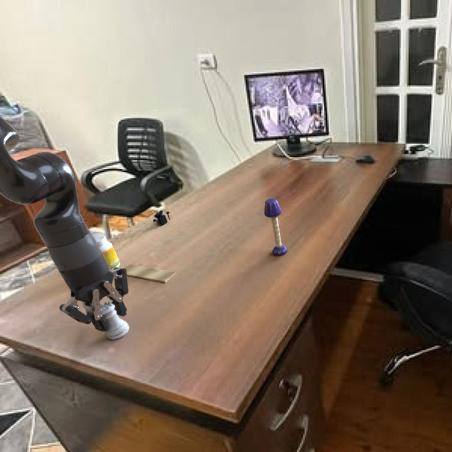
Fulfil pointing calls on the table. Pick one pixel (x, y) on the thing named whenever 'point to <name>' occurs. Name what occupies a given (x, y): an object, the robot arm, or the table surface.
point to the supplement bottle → (108, 252)
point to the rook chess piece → (113, 321)
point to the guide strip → (148, 273)
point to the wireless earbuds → (161, 218)
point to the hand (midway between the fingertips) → (113, 322)
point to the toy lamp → (275, 224)
